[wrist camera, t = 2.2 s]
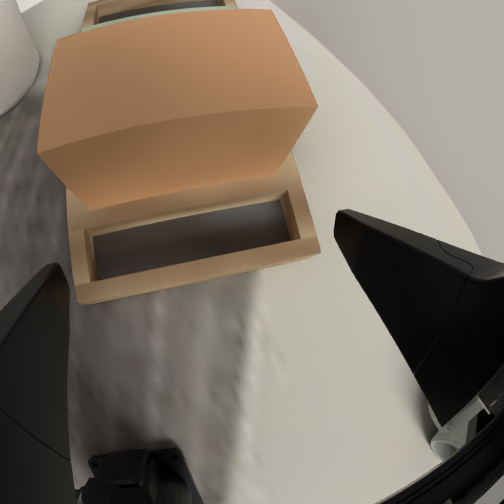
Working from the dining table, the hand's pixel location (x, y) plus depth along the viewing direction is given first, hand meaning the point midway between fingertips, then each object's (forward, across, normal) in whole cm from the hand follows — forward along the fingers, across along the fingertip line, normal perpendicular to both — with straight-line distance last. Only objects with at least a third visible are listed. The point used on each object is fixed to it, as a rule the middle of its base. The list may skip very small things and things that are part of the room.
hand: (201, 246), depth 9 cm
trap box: (+16, 0, -3) cm, 17 cm away
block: (+11, 0, -1) cm, 11 cm away
